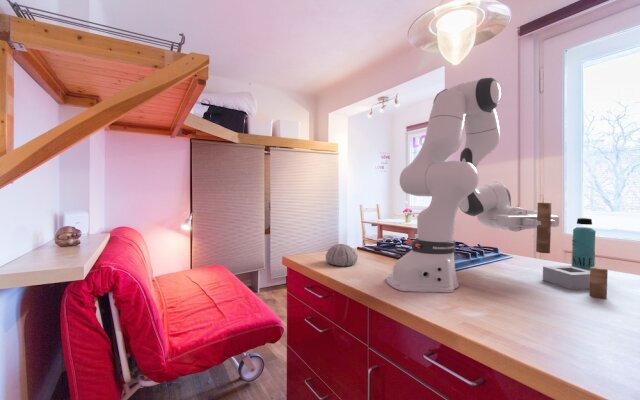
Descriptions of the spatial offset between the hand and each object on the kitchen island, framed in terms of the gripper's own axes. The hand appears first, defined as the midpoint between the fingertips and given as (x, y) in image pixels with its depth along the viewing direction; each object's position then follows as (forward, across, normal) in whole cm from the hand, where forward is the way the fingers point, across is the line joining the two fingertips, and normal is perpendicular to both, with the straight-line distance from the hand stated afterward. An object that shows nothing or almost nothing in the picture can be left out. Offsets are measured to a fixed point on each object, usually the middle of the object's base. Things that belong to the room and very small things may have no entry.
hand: (546, 223), depth 95 cm
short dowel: (+12, +5, +20) cm, 24 cm away
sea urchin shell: (-34, -60, +20) cm, 72 cm away
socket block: (+1, +8, +20) cm, 21 cm away
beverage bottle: (-10, +25, +20) cm, 33 cm away
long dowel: (-1, 0, +10) cm, 10 cm away
